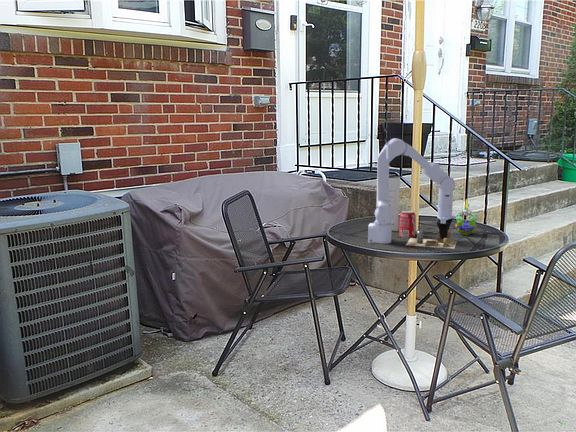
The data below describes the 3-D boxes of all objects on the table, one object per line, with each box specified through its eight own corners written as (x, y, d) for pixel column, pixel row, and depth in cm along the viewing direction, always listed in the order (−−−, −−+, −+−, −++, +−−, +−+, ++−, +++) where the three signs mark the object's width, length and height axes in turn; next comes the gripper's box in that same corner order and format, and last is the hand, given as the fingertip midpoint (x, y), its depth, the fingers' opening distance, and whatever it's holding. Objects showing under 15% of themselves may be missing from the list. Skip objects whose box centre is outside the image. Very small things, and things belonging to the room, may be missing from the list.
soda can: (412, 236, 230) (413, 209, 228) (417, 239, 223) (418, 212, 221) (397, 236, 230) (397, 210, 228) (401, 240, 223) (401, 213, 221)
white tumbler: (397, 228, 246) (398, 174, 242) (400, 233, 236) (401, 176, 231) (375, 228, 247) (375, 174, 243) (376, 233, 237) (377, 176, 232)
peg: (416, 243, 212) (416, 231, 212) (417, 242, 215) (417, 230, 214) (422, 243, 212) (422, 231, 211) (423, 242, 214) (423, 230, 213)
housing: (437, 242, 213) (437, 231, 213) (438, 239, 218) (438, 228, 217) (449, 243, 212) (450, 232, 211) (450, 240, 216) (451, 229, 215)
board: (405, 247, 210) (405, 237, 209) (410, 240, 222) (410, 231, 222) (454, 251, 203) (454, 241, 202) (456, 243, 216) (457, 233, 215)
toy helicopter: (455, 229, 243) (456, 198, 241) (475, 230, 241) (477, 199, 238) (454, 241, 220) (455, 207, 217) (476, 242, 217) (478, 208, 215)
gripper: (454, 208, 204) (452, 242, 206) (456, 202, 217) (455, 234, 220) (435, 207, 207) (434, 240, 209) (439, 202, 220) (438, 233, 222)
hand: (443, 237), depth 215 cm, fingers closed on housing, 5 cm apart
